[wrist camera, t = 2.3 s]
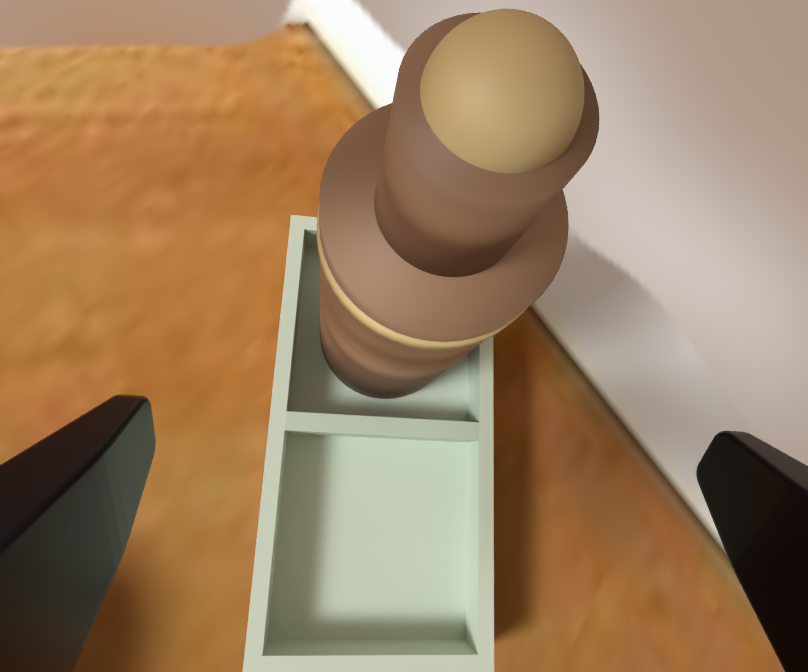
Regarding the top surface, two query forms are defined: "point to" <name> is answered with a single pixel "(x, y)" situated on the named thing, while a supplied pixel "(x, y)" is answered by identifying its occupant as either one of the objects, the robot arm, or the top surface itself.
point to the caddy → (371, 509)
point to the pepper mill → (450, 199)
